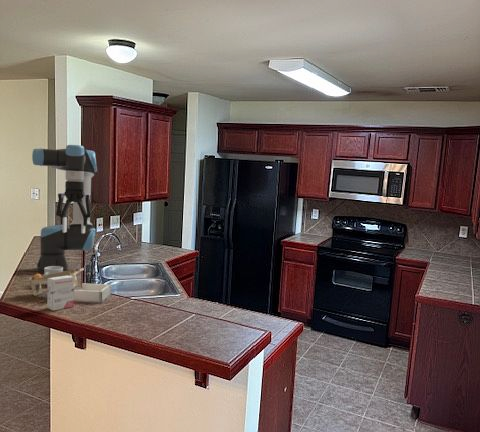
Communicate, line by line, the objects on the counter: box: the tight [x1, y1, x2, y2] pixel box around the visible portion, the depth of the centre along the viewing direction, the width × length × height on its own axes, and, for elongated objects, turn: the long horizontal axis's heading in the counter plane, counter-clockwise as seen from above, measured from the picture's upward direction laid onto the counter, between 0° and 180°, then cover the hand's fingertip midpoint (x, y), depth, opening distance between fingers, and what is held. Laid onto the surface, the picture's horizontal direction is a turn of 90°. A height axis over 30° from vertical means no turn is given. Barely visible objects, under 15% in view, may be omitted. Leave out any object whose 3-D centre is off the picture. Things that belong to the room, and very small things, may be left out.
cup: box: [42, 266, 64, 286], centre depth 202 cm, size 11×8×8 cm
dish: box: [74, 282, 112, 304], centre depth 186 cm, size 12×12×4 cm
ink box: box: [46, 275, 75, 311], centre depth 171 cm, size 9×5×12 cm, turn 137°
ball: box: [33, 273, 43, 279], centre depth 186 cm, size 3×3×3 cm
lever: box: [28, 267, 85, 297], centre depth 190 cm, size 15×17×8 cm
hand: (73, 232), depth 197 cm, fingers open, 8 cm apart
